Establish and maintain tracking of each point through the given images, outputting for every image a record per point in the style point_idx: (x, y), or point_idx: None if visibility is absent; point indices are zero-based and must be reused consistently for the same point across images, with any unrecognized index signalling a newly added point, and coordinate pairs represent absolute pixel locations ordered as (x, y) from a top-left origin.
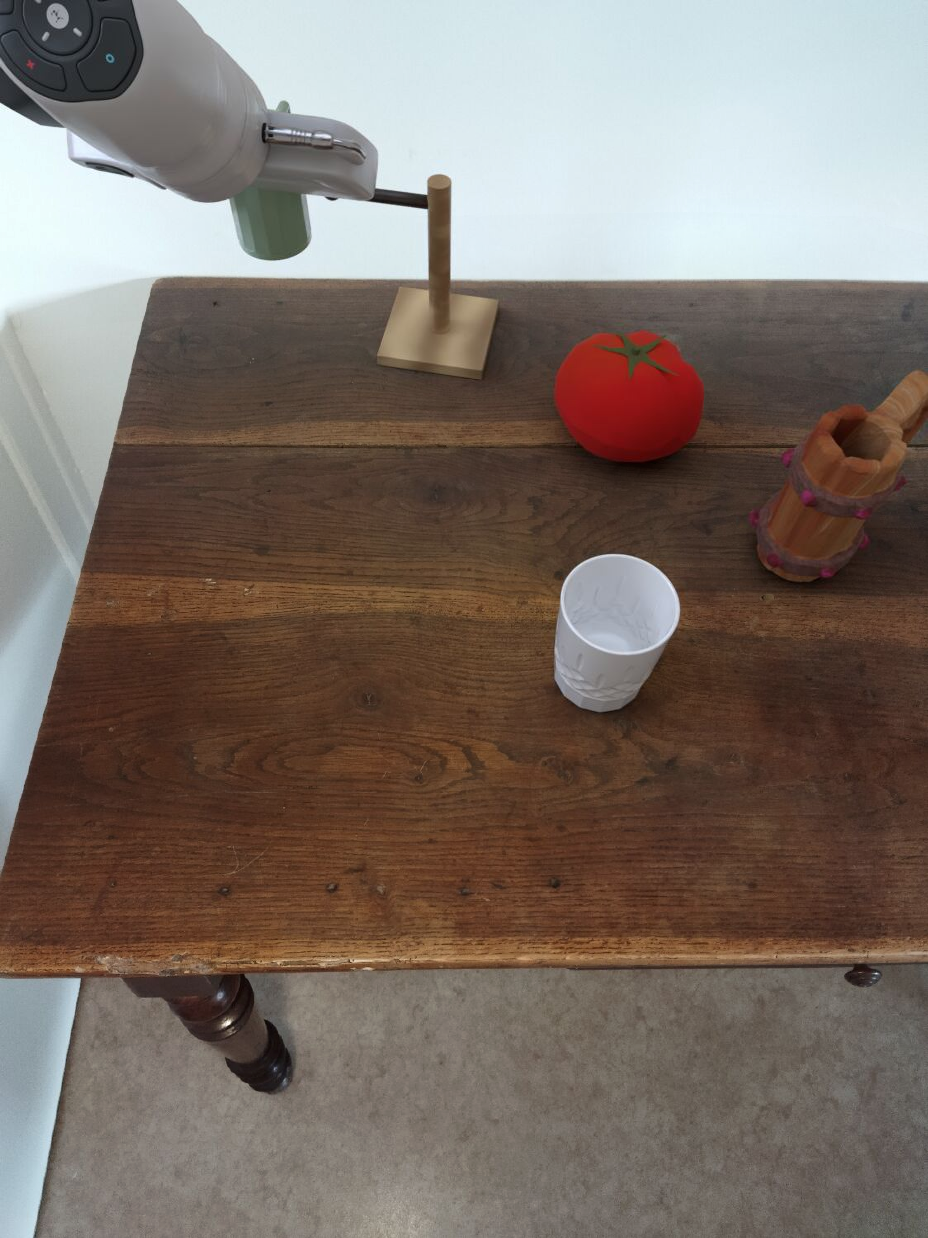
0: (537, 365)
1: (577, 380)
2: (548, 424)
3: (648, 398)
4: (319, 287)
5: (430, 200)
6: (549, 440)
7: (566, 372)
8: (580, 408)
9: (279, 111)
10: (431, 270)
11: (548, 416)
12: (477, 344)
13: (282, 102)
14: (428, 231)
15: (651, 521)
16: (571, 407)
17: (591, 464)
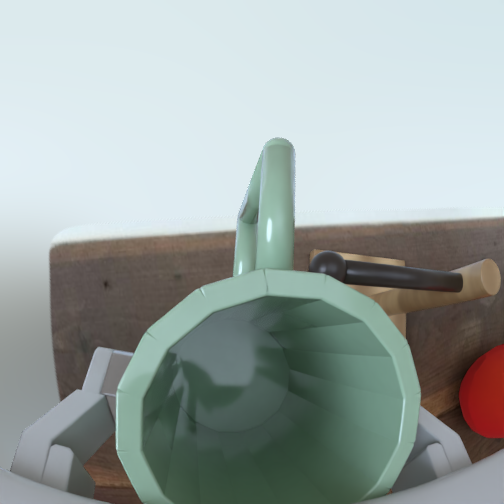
0: (432, 330)
1: (499, 417)
2: (441, 394)
3: None
4: (219, 246)
5: (470, 295)
6: (441, 409)
7: (494, 410)
8: (491, 431)
9: (285, 194)
10: (403, 310)
11: (441, 386)
12: (397, 327)
13: (282, 151)
14: (432, 298)
15: (481, 448)
16: (483, 424)
17: (461, 420)
